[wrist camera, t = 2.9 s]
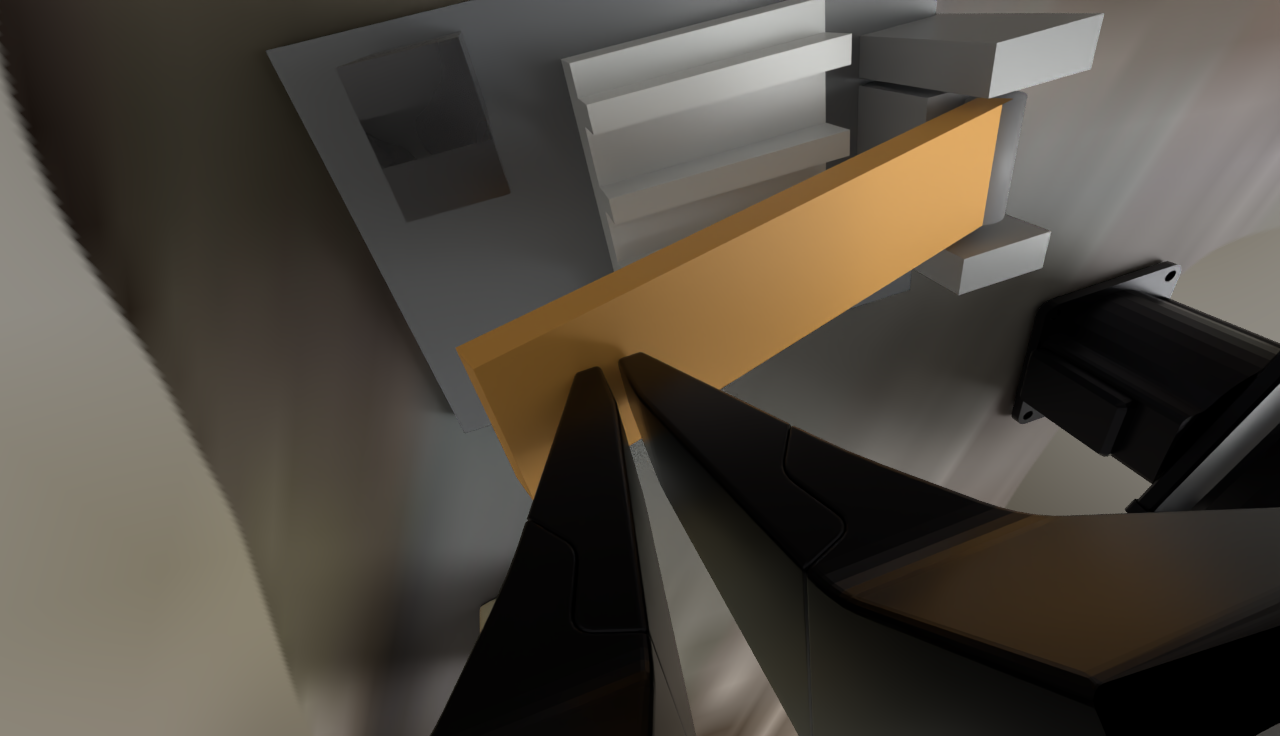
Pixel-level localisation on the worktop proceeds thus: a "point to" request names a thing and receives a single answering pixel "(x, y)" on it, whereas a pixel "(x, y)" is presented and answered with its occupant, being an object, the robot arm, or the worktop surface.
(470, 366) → the strap
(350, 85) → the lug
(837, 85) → the clamp base
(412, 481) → the worktop surface
